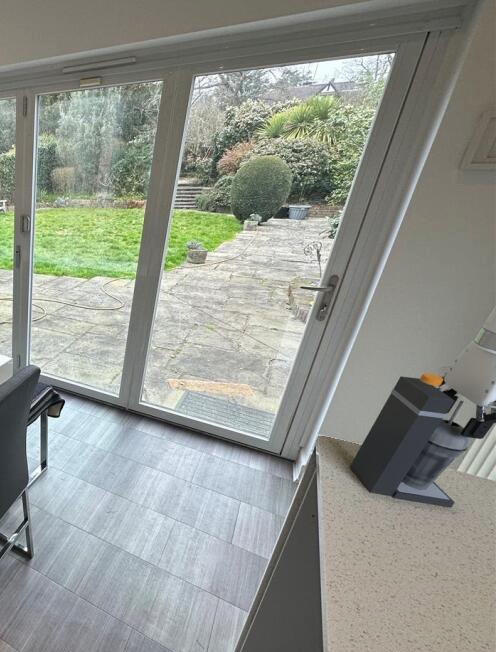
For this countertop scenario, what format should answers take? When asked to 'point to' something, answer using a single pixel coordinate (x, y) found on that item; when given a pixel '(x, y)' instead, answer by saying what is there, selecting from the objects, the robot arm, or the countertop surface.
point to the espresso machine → (402, 442)
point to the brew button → (431, 379)
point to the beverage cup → (437, 453)
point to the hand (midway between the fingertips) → (453, 423)
